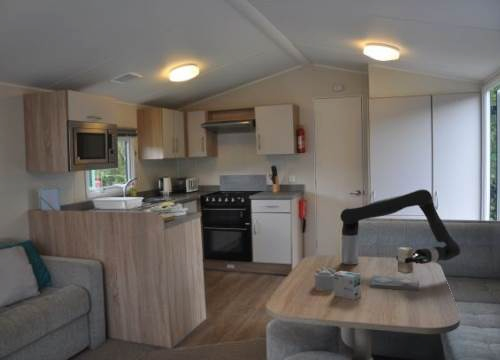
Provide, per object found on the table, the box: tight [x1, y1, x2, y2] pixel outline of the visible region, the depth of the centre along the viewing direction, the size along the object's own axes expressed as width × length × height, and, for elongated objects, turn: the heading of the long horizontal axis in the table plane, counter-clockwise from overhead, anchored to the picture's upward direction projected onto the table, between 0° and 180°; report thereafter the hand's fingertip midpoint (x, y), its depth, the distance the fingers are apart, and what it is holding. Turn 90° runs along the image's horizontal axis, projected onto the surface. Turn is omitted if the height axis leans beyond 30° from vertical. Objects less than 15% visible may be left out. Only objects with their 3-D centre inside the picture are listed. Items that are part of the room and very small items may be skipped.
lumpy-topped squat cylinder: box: [314, 267, 337, 291], centre depth 214 cm, size 10×13×9 cm
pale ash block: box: [397, 246, 414, 275], centre depth 212 cm, size 5×5×12 cm
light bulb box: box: [333, 270, 362, 301], centre depth 198 cm, size 11×7×11 cm, turn 47°
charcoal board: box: [369, 274, 420, 292], centre depth 214 cm, size 22×16×2 cm
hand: (401, 259), depth 210 cm, fingers closed on pale ash block, 5 cm apart
